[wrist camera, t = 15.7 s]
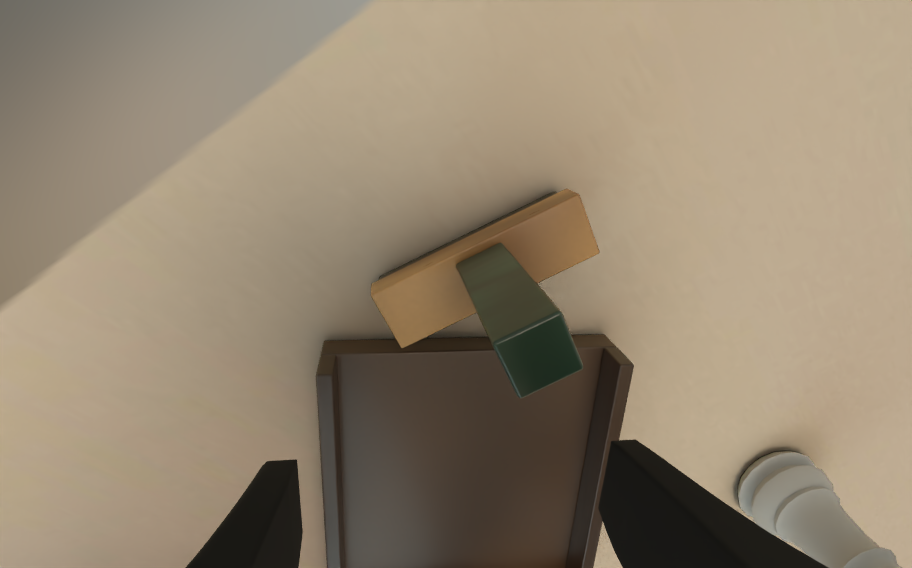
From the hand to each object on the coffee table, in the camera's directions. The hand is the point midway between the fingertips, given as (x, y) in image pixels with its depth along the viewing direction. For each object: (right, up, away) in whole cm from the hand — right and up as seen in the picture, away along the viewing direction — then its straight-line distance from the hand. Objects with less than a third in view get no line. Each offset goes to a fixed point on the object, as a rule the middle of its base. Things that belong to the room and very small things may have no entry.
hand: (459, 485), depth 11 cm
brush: (+1, +6, +8) cm, 10 cm away
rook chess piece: (+17, -6, +15) cm, 24 cm away
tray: (0, -4, +12) cm, 13 cm away
